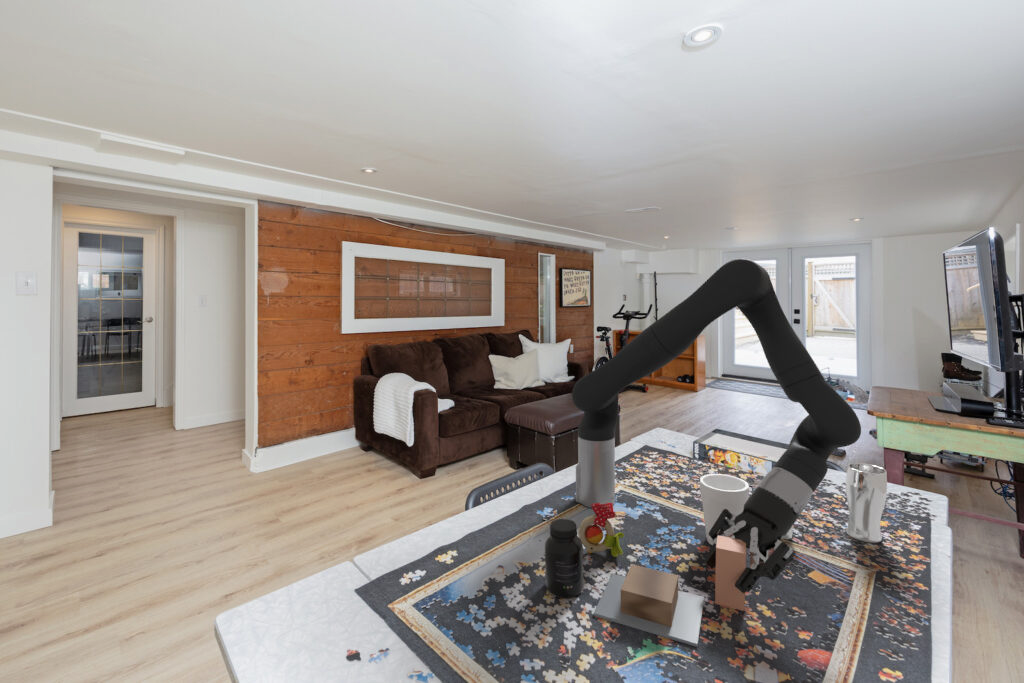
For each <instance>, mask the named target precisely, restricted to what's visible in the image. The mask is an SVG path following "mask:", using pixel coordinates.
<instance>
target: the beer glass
mask: <svg viewBox="0 0 1024 683" xmlns="http://www.w3.org/2000/svg"><path fill="white" fill-rule="evenodd" d="M887 473H888V472H887V470H886V469H885V468H884V467H881V466H878V465H875V464H870V463H865V462H851V463H848V464H847V471H846V475H845V476H846V478H845V495H846V502H847V507H848V516H849V517H848V522H847V527H846V531H845V532H846V534H847V535H848V536H849V537H851V538H853V539H855V540H857V541H861V542H866V543H871V544H875V543H876V544H877V543H879V542H882V539H883V537H882V532H881V519H882V516H883V515H882V514H883V512H884V509H885V505H886V502H887V498H888V497H887V495H888V477H887V476H888V475H887Z"/></svg>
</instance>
